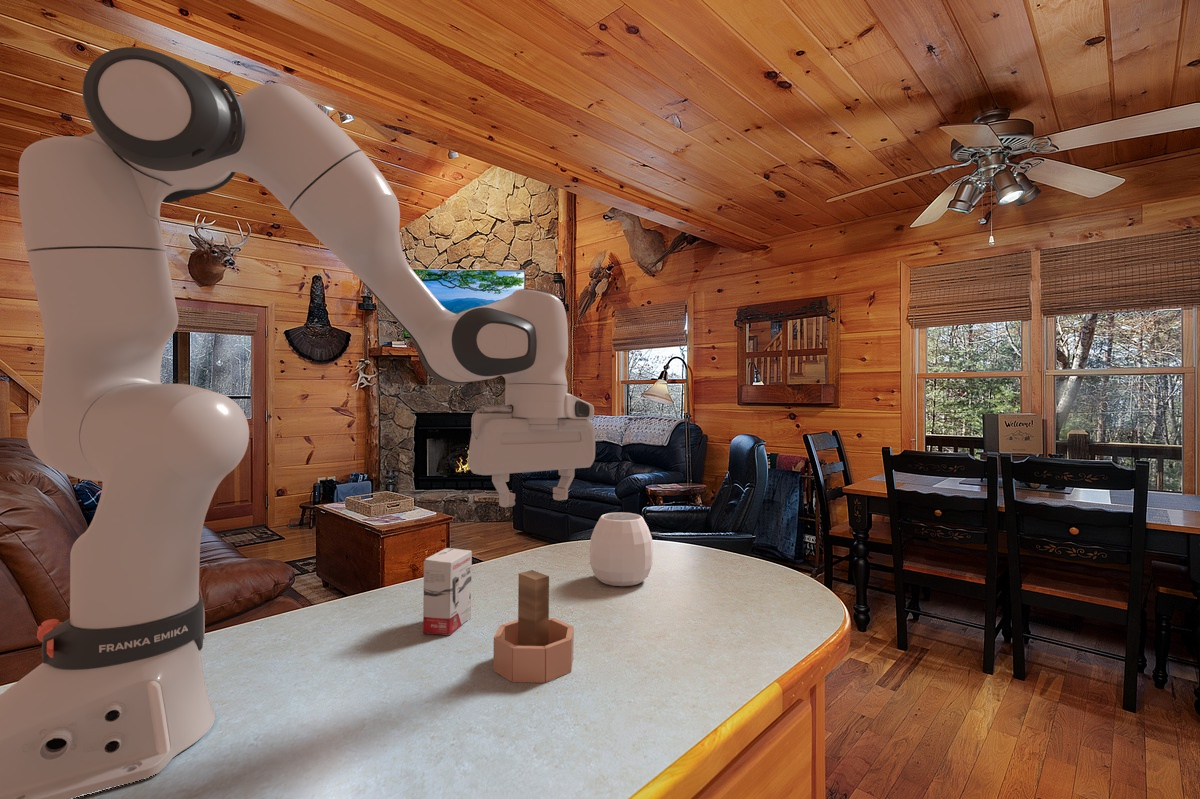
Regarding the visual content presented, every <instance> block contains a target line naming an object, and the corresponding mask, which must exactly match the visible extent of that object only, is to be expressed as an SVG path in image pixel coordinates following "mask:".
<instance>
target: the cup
mask: <svg viewBox="0 0 1200 799" xmlns="http://www.w3.org/2000/svg"><path fill="white" fill-rule="evenodd" d="M653 560H654V546H653V537H652V534H651V531H650V529H649V526H648V525H647V523H646V521H645V518H644V517H643V516H642V515H640V514H639V513H638V514H637V513H632V512H622V511H621V512H608V513H605V514H602V515H601V516H600V517H599V519H598V521H597V522H596V524H595V526H594V527H593V530H592V534H591V536H590V543H589V565H590V568H591V570H592V573H593V575H594V576H595V578H597V579H598V581H600V582H601V583H602V584H603V583H604V584H605V585H608V586H609V585H610V586H617V587H618V586H619V587H628V586H629V587H630V586H635V585H639V584H640V583H643V582H644V581H645V580H646V579H647V578H649V575H650V572H651V570H652V567H653V564H654V563H653V562H654V561H653Z"/></svg>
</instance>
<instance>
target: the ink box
mask: <svg viewBox="0 0 1200 799" xmlns="http://www.w3.org/2000/svg"><path fill="white" fill-rule="evenodd" d="M472 553H473V550H466V549H461V548H460V549H459V548H452V547H451V548H450V547H445V548H444V549H441V550H440V551H438V552H435V553H434V554H432V555H430V556H428V557H426V558H425V559H424V561H423V602H422V603H423V605H422V606H423V608H422V609H423V612H422V613H423V615H422V616H423V618H422V626H423V627H422V633H423V634H429V635H440V636H441V635H442V636H452V634H453V633H454V632H456V630H458V629H459V628H460V627H461V626H462V625H464V624H465V623H466V622H467V621H469V619H471V618H472V569H473V568H472V566H473V565H472V563H473V562H472V561H473V560H472V559H473V558H472V556H473V554H472Z"/></svg>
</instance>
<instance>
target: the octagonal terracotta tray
mask: <svg viewBox="0 0 1200 799" xmlns="http://www.w3.org/2000/svg"><path fill="white" fill-rule="evenodd" d="M574 629H575V628H574V626H573V625H570V624H569V623H567V622H565V621H562V620H559V619H557V618H555V617H549V645H546V646H518V619H516V620H513V621H509V622H506V623H504V624H500V625H499V627H498V629H497V631H496V632H495V635H494V636H493V672H495V673H497V674H498V675H501V676H502V677H503V678H505V679H506V680H508V681H510V682H512V683H541V684H543V683H544V684H545V683H547V682H550V681H553V680H555V679H557V678H560V677H562V676H564V675H567V674H569V673H571V672H572V670H573V662H574V641H575V640H574V639H575V638H574V632H575V630H574Z"/></svg>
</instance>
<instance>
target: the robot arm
mask: <svg viewBox="0 0 1200 799" xmlns="http://www.w3.org/2000/svg"><path fill="white" fill-rule="evenodd" d="M85 72H86V73H85V75H84V78H83V83H82V101H83V105H84V110H85V112H86V115H87V117H88V120H89V122H90V124H91V125H92V126H93V129H94V131H92V132H91V133H89V134H85V135H84V134H83V135H81V136H74V135H73V136H72V135H71V136H70V135H64V136H61V135H60V136H54V137H53V136H52V137H46V138H44V139H40V140H37V141H35V142H33V143H31V144H30V145H28V146H27V147H26V148H25V149H24V150H23V152H22V153H21V156H20V158H19V163H18V201H19V202H18V203H19V204H18V205H19V215H20V222H21V229H22V234H23V235H22V236H23V239H24V245H25V250H26V254H27V257H28V258H27V259H28V264H29V267H30V271H31V277H32V282H33V284H34V290H35V294H36V300H37V303H38V308H39V312H40V317H41V318H40V319H41V321H42V329H43V344H44V345H43V346H44V354H43V355H44V357H43V358H44V359H43V370H42V371H43V372H42V383H41V384H42V385H41V394H40V400H39V403H38V406H37V407H36V408H35V409H34V411H33V412H32V414H31V416H30V417H29V420H28V423H27V427H26V440H27V443H28V445H29V448H30V450H31V452H32V453H33V455H34V456H35V457H36V458H37V459H39V461H41V462H42V463H43V464H45V465H46V466H49V467H50V468H52V469H55V470H56V471H58V472H60V473H63V474H65V475H68V476H70V477H73V478H76V479H80V480H85V481H96V482H102V488H101V493H100V497H99V500H98V504H97V507H96V510H95V513H94V516H93V518H92V520H91V522H90V524H89V526H88V528H86V530H85V532H83V533H81V535H80V536H79V537H78V538H77V539H76V540H75V541H74V542H73V545H72V547H71V550H70V554H69V555H70V562H69V563H70V564H69V565H70V568H69V570H70V571H69V572H70V573H69V574H70V575H69V578H70V580H69V581H70V582H69V584H70V586H69V618H68V619H66V620H64V621H60V619H58V618H50V619H47V620H44V621H43V622H40V623H41V625H39V626H38V627H37V631H36V638H37V639H38V641H39V642H40V643H41V658H42V662H41V664H39V665H38V666H36V667H35V668H34V669H33V670H31V671H30V672H28V673H27V674H26V675H25V676H23V677H22V678H21V679H19V680H18V681H17V682H15V683H14V684H13V685H11V686H10V687H9V688H7V689H6V690H4V692H2V693H0V799H71V798H75V797H76V796H77V797H78V796H80V795H82V794H87V793H92V792H95V791H98V790H103V789H106V788H109V787H114V786H118V785H122V784H127V785H129V784H128V783H130V784H132V783H131V782H134V783H136V782H135V781H138V782H140V781H139V780H141V779H144V778H148V779H150V778H151V777H150V776H152V777H154V776H156V775H157V774H159V773H160V772H161V771H162V770H163V769H164V768H166V767H167V765H168V764H169V763H170V762H171V761H172V759H173V758H175V757H176V756H177V755H178V754H179V755H180V753H182V752H183V751H185V750H186V749H188V748H189V747H191V746H192V745H194V744H195V743H197V741H198V742H199V740H200V739H202V738H203V737H204V736H205V735H206V734H207V733H208V732H209V731H210V729H211V728H212V727H213V725H214V723H215V720H216V713H215V711H214V708H213V706H212V703H211V700H210V696H209V694H208V690H207V685H206V680H205V675H204V668H203V660H202V649H203V646H204V640H205V634H206V633H205V630H206V629H205V625H206V624H205V621H206V618H205V616H206V615H205V612H206V611H205V607H204V600H202V598H201V596H200V562H201V560H200V559H201V558H200V557H201V541H202V540H201V539H202V533H203V527H204V523H205V520H206V517H207V513H208V511H209V507H210V505H211V503H212V500H213V498H214V494H215V492H216V491H217V489H218V487H219V485H220V484H221V482H222V481H223V480H224V479H225V478H226V477H227V476H228V475H229V474H230V473H231V472H233V470H234V469H236V468H237V466H239V464H240V463H241V461H242V459H244V456H245V454H246V452H247V450H248V446H249V441H250V427H249V422H248V419H247V417H246V415H245V413H244V411H243V409H242V408H241V407H240V405H239V404H237V403H236V402H235V401H234V400H233V399H232V398H230V397H228V396H227V395H225V394H223V393H219V392H215V391H213V390H210V389H207V388H205V387H204V388H203V387H200V386H195V385H192V384H186V383H162V381H161V380H162V378H161V375H162V374H161V372H162V370H161V369H162V363H163V362H162V361H163V356H164V351H165V348H166V345H167V343H168V341H169V339H170V338H171V337H172V336H173V334H174V333H175V332H176V330H177V328H178V325H179V313H178V308H177V302H176V296H175V292H174V291H175V290H174V287H173V281H172V277H171V276H172V274H171V270H170V264H169V260H168V255H167V252H166V250H167V249H166V245H165V240H164V235H163V232H162V231H163V230H162V224H161V223H162V222H161V206H162V203H168V204H169V203H174V202H177V201H181V200H184V199H187V198H188V199H189V198H191V197H195V196H200V195H204V194H207V193H211V192H214V191H216V190H218V189H221V188H222V187H224V186H226V185H227V184H228V183H229V182H230V181H231V180H232V179H233V178H234V176H236V173H237V174H242V175H245V176H247V177H249V178H251V179H254V181H256V182H258V183H259V184H260V185H262V186H263V187H264V188H265V189H267V190H268V191H269V192H270V193H271V194H272V195H273V197H275V198H276V199H277V201H278V202H280V204H282V205H283V206H284V208H285V209H286V210H287V211H288V212H290V214H291V215H292V216H293V217H294V218H295V219H296V220H297V221H298V222H300V224H301V226H303V227H304V228H305V229H306V230H307V231H309V233H311V234H312V235H313V236H314V237H315V239H317V240H318V241H319V242H320V243H321V244H322V245H323V246H324V247H326V248H327V249H328V250H329V251H330V252H331V253H332V254H333V255H335V257H336V258H338V259H339V260H340V261H341V262H342V263H343V265H345V266H346V268H348V269H349V271H351V272H352V273H353V274H354V275H356V277H358V279H359V280H360V282H362V284H364V286H365V287H366V289H368V290H369V292H371V294H372V295H373V296H374V298H376V300H378V302H379V303H380V304H381V305H382V306H383V308H385V309H386V311H387V312H388V313H389V315H391V316H392V317H393V319H394V320H395V321H396V322H397V323H398V324H399V325H400V326H401V327H402V329H403V330H404V331H405V333H406V334H408V336H409V338H410V339H411V340H412V343H413V344H414V347H415V349H416V352H417V354H418V358H419V360H420V362H421V363H422V366H423V368H424V369H425V371H426V372H427V373H428V374H429V375H430V376H431V377H432V378H433V379H435V380H436V381H438V382H440V383H442V384H444V385H448V386H463V385H467V384H470V383H472V382H479V381H484V380H485V381H486V380H492V379H495V378H498V377H500V376H501V377H503V378H504V380H505V390H504V392H505V393H504V395H505V396H504V398H505V399H504V404H500V405H492V404H483V405H481V407H480V408H478V409H476V410H475V411H474V412H473V414H472V417H471V423H470V424H471V426H470V429H471V435H470V440H469V449H468V454H467V456H468V458H467V467H468V468H469V470H470V471H471V473H472V474H475V475H479V476H480V475H481V476H491V482H492V484H493V487H494V488H495V490H496V491H497V493H498V504H499V507H500V508H501V507H502V508H509V507H515V505H516V501H515V500H516V493H513V492H511V491H510V490H509V487H508V485H507V482H509V481H510V474H519V473H521V474H522V473H534V472H545V471H547V472H548V471H558V476H560V478H559V481H558V484H557V486H554V487H553V488H552V493H553V494H552V498H553V500H554V501H566V500H568V498H569V489H570V486H571V484H572V482H573V480H574V478H575V470H576V469H582V468H583V469H586V468H591V466H592V465H593V463H594V462H595V459H596V431H595V427H594V424H593V422H592V420H590V419H592V418H594V416H595V407H594V405H593V404H592V403H589V402H587V401H586V400H583V399H580V398H579V397H577V396H575V395H573V394H571V393H568V388H569V387H568V386H569V385H568V379H567V375H566V364H567V360H568V358H569V330H568V328H569V327H568V326H569V325H568V318H567V313H566V312H567V311H566V309H565V305H564V304H563V302H562V300H561V299H560V298H558V297H557V296H556V295H554V294H552V293H550V292H548V291H545V290H539V289H532V288H531V289H530V288H520V289H517V290H514V291H513V292H512V293H511V294H509V295H508V296H506V297H504V298H502V299H500V300H497V301H494V302H492V303H489V304H486V305H482V306H476V307H472V308H469V309H466V310H463V311H460V312H458V313H454V312H453V311H450V310H448V309H447V308H446V307H445V306H443V305H442V303H441V302H440V301H439V300H438V298H437V297H436V296H435V295H434V294H433V292H432V291H431V290H430V288H428V286H426V284H425V283H424V281H423V280H422V279H421V278H420V277H419V276H418V275H417V274H416V272H415V271H414V269H413V268H412V267H411V265H410V264H409V262H408V261H407V259H406V257H405V254H404V252H403V248H402V247H403V246H402V243H401V237H400V236H401V235H400V224H401V210H400V204H399V200H398V198H397V196H396V194H395V192H394V191H393V189H392V188H391V186H390V184H389V182H388V181H387V179H386V177H385V176H384V175H383V173H382V172H381V171H380V170H379V168H378V167H377V166H376V165H375V164H374V163H373V161H372V160H371V159H370V157H368V155H367V154H366V153H365V152H364V151H363V150H362V149H361V148H360V147H359V145H358V144H356V142H355V141H354V140H353V139H352V138H351V137H350V136H349V135H348V134H347V133H346V132H345V131H344V130H343V129H342V128H341V127H340V125H339V124H337V123H336V122H335V121H334V120H333V119H331V117H329V115H328V114H326V113H325V112H324V111H323V110H322V109H321V108H319V107H318V106H317V105H316V104H315V103H314V102H312V101H311V100H310V99H309V98H308V97H306V96H305V95H304V94H303V93H301V92H300V91H299V90H298V89H296V88H294V87H291V86H289V85H287V84H284V83H279V82H275V83H274V82H271V83H265V84H264V83H263V84H261V85H258V86H255V87H253V88H251V89H249V90H248V91H246V92H245V93H243V94H242V95H239V96H238V95H237V93H236V92H235V90H234V88H232V86H231V85H230V84H229V83H228V82H226V81H224V80H223V79H220V78H217V76H213V75H211V74H209V73H207V72H204V71H201V70H199V69H197V68H194V67H192V66H191V65H188V64H187V63H184V62H183V61H181V60H178V59H176V58H174V57H172V56H169V55H167V54H164V53H161V52H159V51H156V50H154V49H153V50H152V49H149V48H144V47H135V46H133V47H132V46H126V47H119V48H114V49H111V50H108V51H106V52H104V53H102V54H101V55H99V56H98V57H97V58H95V60H94V61H92V63H91V64H90V66H89V68H87V71H85ZM155 774H156V775H155ZM153 775H154V776H153ZM149 777H150V778H149ZM141 781H142V780H141Z"/></svg>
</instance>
